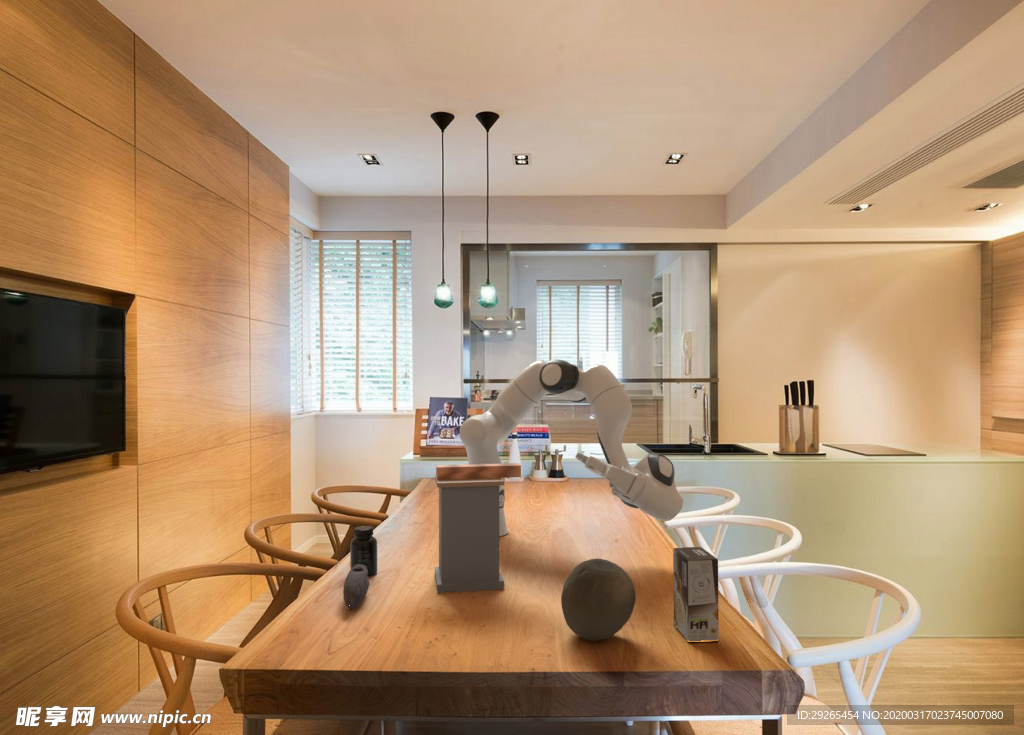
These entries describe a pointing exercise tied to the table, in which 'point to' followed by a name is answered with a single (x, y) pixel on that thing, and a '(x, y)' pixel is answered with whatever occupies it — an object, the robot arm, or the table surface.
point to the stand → (468, 535)
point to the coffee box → (696, 593)
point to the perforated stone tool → (356, 586)
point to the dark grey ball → (597, 599)
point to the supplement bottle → (364, 549)
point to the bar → (478, 471)
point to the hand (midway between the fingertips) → (581, 457)
